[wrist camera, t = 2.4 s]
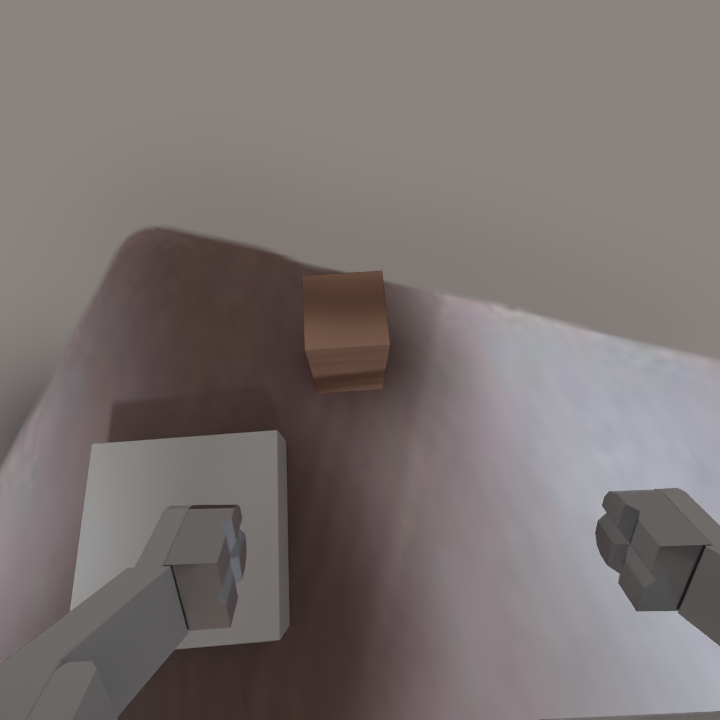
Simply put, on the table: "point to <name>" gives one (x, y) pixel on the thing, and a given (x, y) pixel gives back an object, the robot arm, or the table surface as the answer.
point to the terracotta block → (346, 330)
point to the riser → (186, 488)
